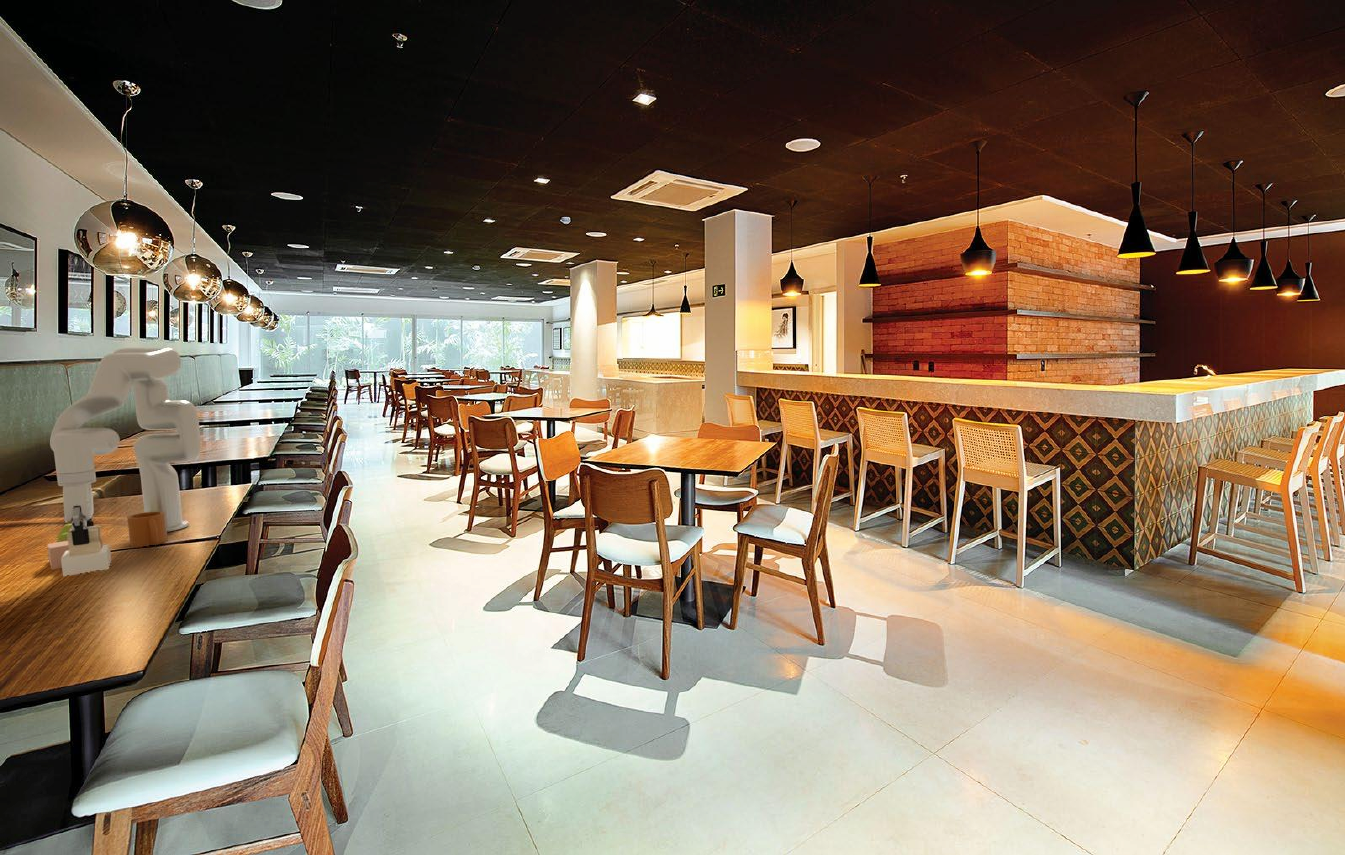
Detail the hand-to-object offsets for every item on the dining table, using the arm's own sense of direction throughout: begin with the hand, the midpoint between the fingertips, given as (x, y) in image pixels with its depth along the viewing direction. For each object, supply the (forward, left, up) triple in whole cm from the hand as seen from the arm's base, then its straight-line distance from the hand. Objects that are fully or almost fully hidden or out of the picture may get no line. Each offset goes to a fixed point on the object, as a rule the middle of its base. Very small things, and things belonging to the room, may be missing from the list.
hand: (84, 540), depth 172 cm
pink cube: (-8, -5, -8) cm, 12 cm away
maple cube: (0, 0, -3) cm, 3 cm away
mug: (-18, +12, -8) cm, 23 cm away
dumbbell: (-23, -5, -8) cm, 25 cm away
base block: (0, 0, -8) cm, 8 cm away
